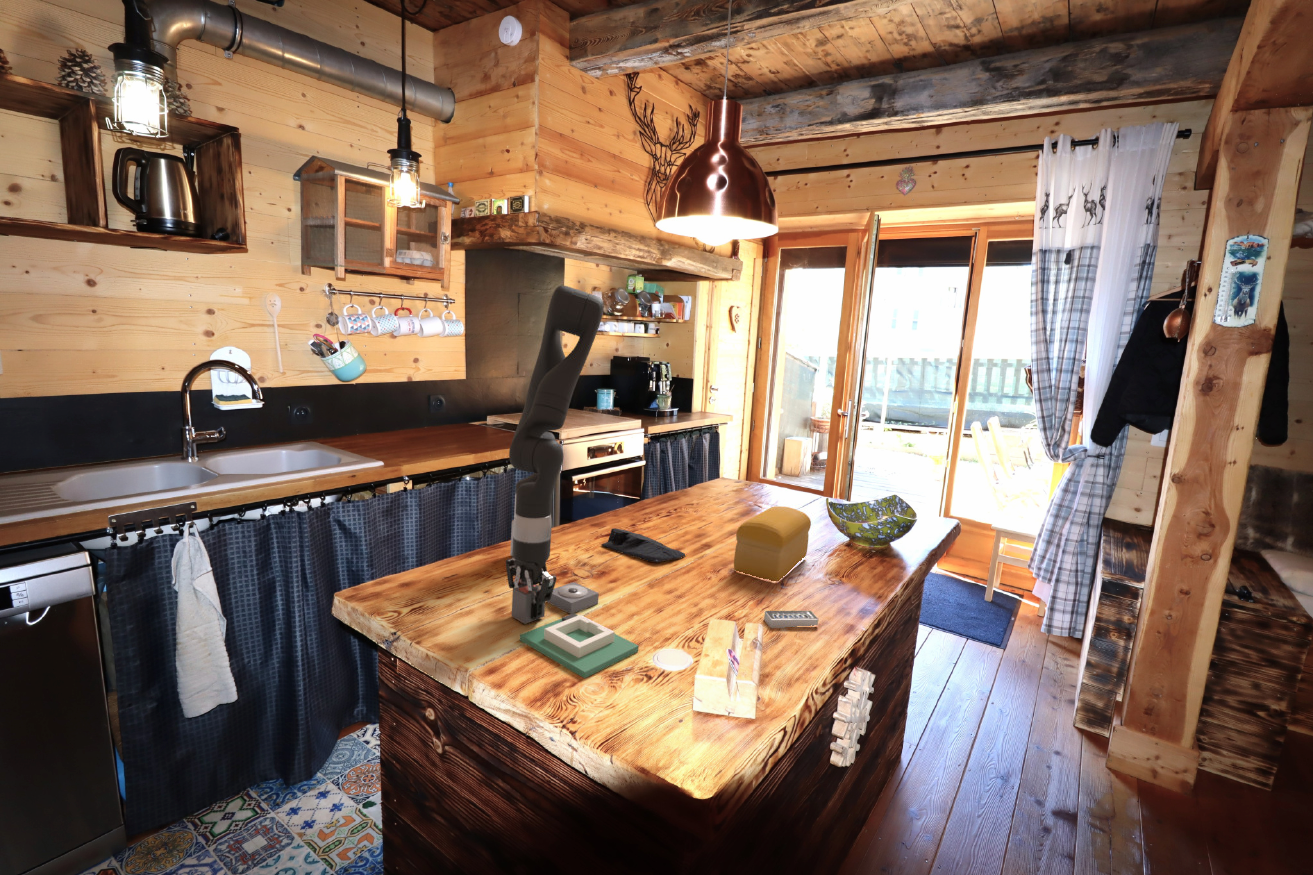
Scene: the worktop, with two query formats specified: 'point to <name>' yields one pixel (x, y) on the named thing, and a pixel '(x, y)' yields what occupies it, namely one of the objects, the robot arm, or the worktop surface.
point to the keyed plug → (523, 604)
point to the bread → (772, 543)
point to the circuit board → (579, 644)
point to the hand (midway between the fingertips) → (528, 613)
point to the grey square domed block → (573, 597)
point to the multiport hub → (790, 618)
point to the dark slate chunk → (640, 546)
